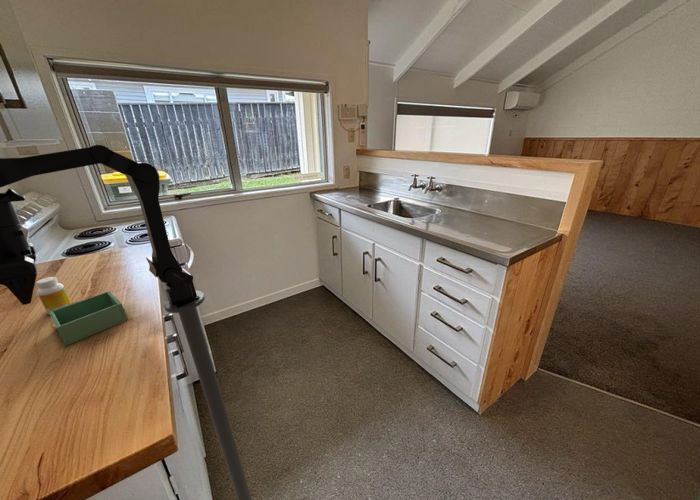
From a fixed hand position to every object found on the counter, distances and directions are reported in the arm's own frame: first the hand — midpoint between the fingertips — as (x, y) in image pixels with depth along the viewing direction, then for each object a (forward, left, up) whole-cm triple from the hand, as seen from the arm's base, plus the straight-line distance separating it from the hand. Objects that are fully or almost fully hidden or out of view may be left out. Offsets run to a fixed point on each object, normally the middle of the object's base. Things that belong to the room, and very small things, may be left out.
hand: (27, 296), depth 60 cm
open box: (-8, -5, -14) cm, 17 cm away
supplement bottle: (-4, -22, -14) cm, 26 cm away
